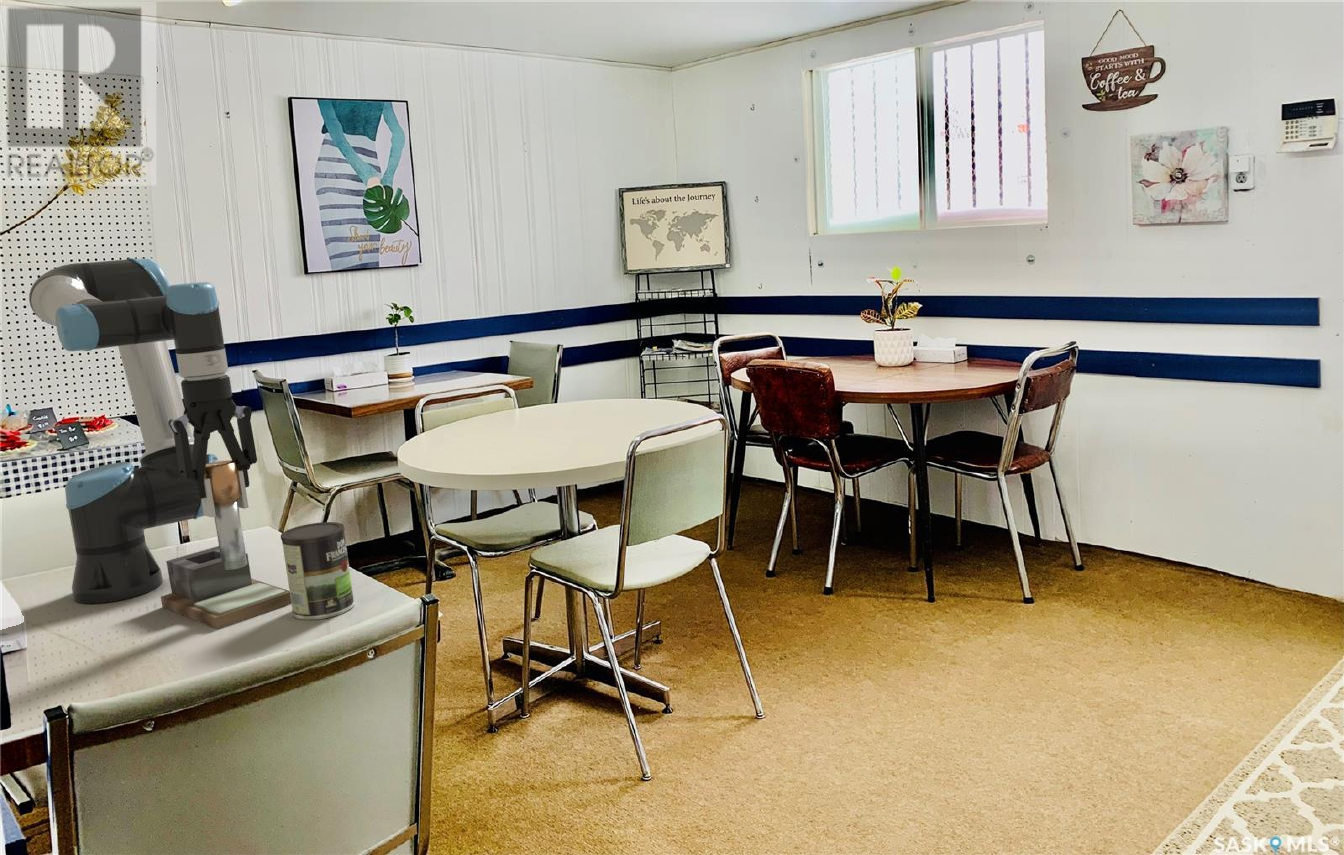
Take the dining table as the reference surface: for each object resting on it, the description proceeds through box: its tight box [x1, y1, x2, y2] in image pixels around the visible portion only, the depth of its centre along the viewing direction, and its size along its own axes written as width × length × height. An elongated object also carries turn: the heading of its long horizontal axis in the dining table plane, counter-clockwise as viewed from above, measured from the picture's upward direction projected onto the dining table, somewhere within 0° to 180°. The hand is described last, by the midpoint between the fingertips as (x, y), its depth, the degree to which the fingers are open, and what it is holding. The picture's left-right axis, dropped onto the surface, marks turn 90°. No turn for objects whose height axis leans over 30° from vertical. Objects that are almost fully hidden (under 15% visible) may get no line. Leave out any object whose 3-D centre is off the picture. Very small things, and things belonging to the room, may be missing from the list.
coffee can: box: [280, 521, 355, 621], centre depth 183 cm, size 10×10×14 cm
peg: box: [204, 459, 247, 570], centre depth 183 cm, size 5×5×18 cm
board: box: [160, 545, 292, 630], centre depth 189 cm, size 20×14×8 cm
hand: (226, 511), depth 183 cm, fingers closed on peg, 5 cm apart
